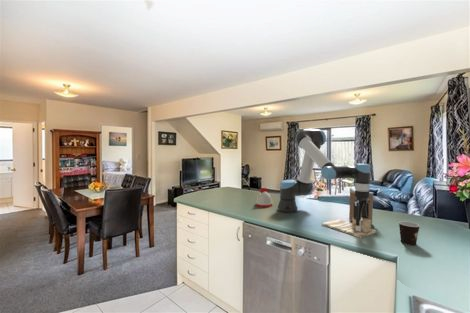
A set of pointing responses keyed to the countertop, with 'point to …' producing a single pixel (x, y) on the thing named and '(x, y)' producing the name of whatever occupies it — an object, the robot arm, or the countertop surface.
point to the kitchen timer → (264, 199)
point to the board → (346, 228)
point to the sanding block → (362, 225)
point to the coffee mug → (408, 232)
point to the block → (353, 199)
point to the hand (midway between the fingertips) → (360, 229)
